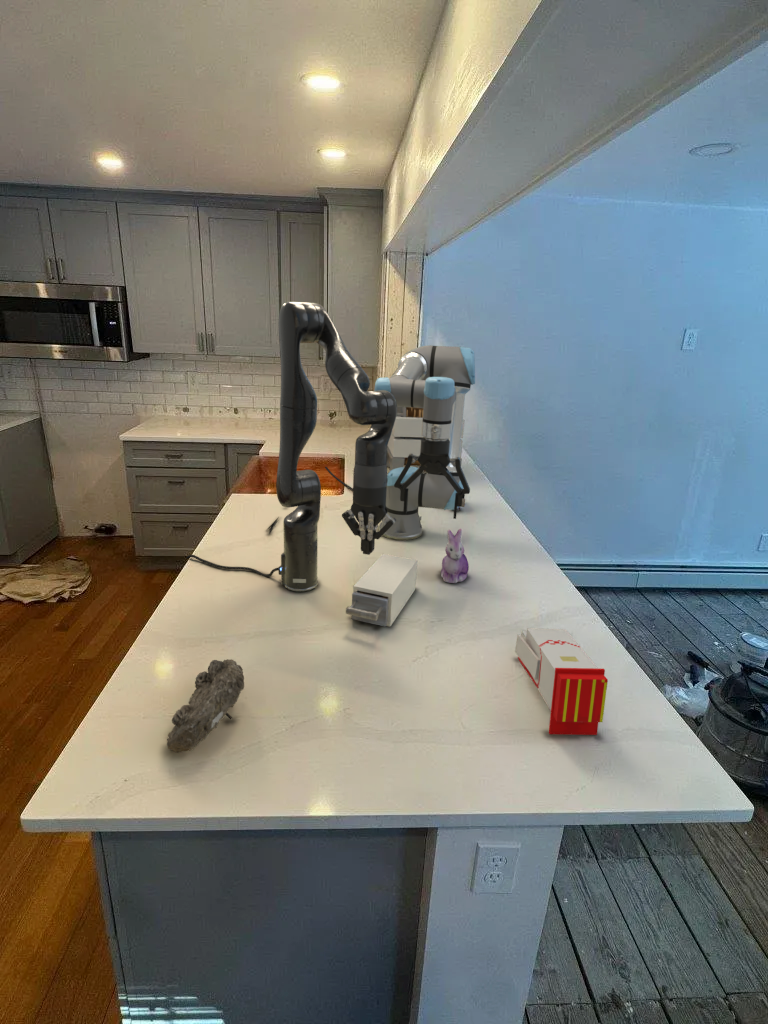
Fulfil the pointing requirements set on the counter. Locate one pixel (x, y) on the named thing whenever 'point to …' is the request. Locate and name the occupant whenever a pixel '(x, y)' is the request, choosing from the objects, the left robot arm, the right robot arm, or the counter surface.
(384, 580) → the cabinet
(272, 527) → the feather
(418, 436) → the transformer
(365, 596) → the drawer
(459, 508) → the figurine character
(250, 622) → the counter surface
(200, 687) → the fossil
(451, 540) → the figurine
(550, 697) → the toy
